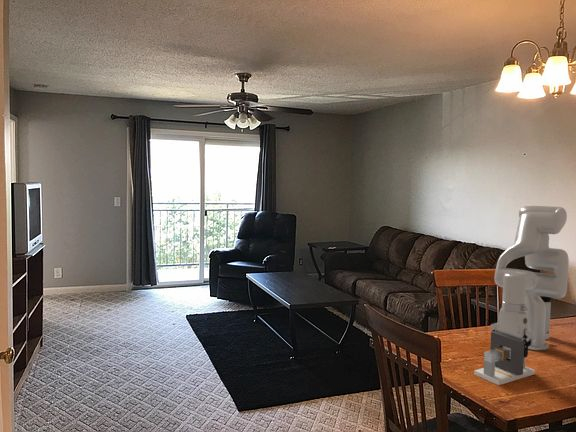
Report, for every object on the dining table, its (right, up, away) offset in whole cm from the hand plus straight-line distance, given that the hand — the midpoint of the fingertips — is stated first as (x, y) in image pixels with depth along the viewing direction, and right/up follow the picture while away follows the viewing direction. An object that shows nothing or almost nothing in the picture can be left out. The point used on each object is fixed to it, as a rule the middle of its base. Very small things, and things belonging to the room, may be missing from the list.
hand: (511, 352), depth 166 cm
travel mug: (+34, -5, +40) cm, 53 cm away
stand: (-3, -8, -1) cm, 8 cm away
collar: (-2, -5, -1) cm, 6 cm away
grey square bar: (-3, -1, -1) cm, 3 cm away
